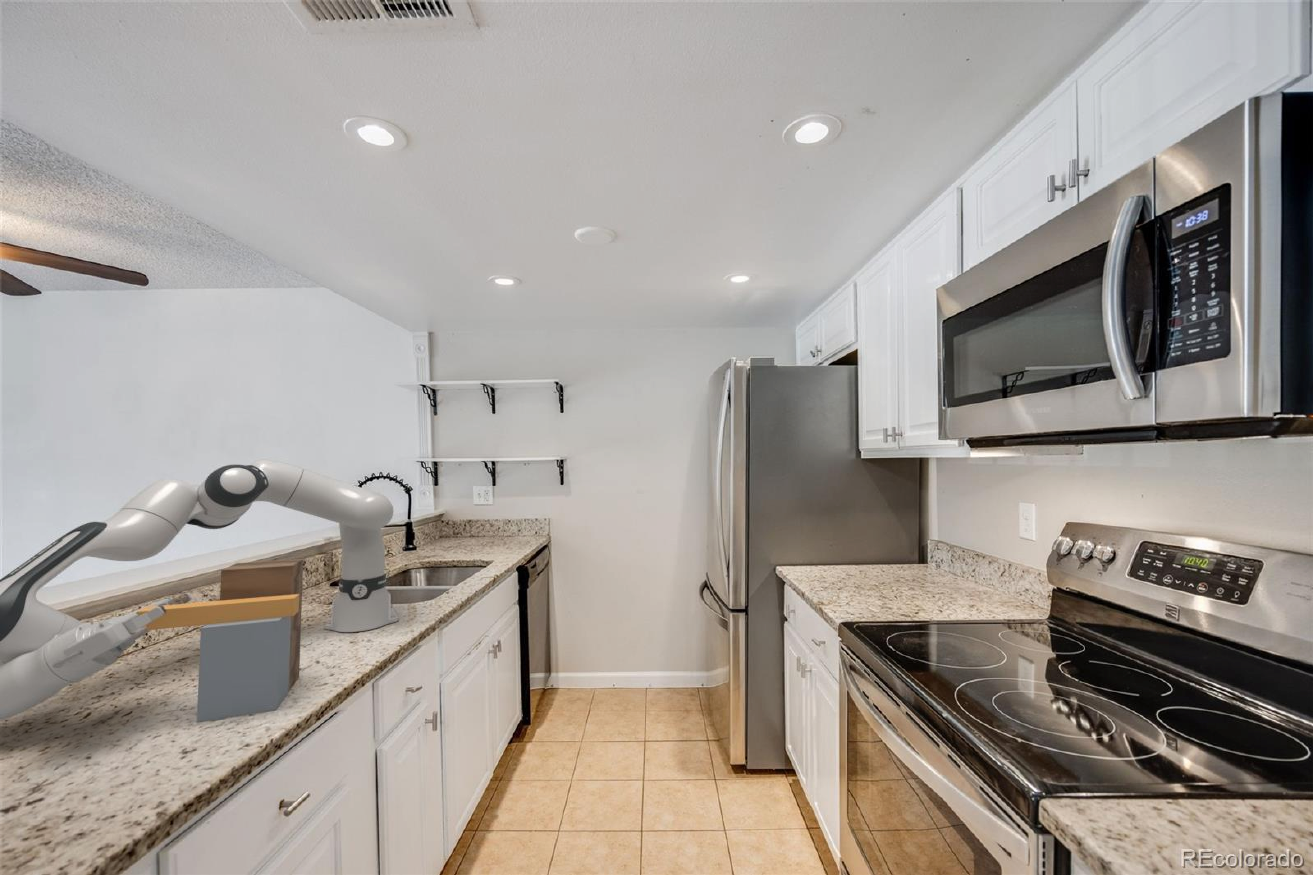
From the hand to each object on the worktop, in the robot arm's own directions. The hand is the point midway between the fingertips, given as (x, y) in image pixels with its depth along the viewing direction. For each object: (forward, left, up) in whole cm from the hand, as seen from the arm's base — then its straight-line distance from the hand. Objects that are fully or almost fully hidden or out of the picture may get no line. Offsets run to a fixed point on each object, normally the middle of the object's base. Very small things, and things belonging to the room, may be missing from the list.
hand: (176, 602), depth 95 cm
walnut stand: (-8, +11, -21) cm, 25 cm away
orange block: (0, +7, -4) cm, 8 cm away
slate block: (0, +11, -21) cm, 24 cm away
